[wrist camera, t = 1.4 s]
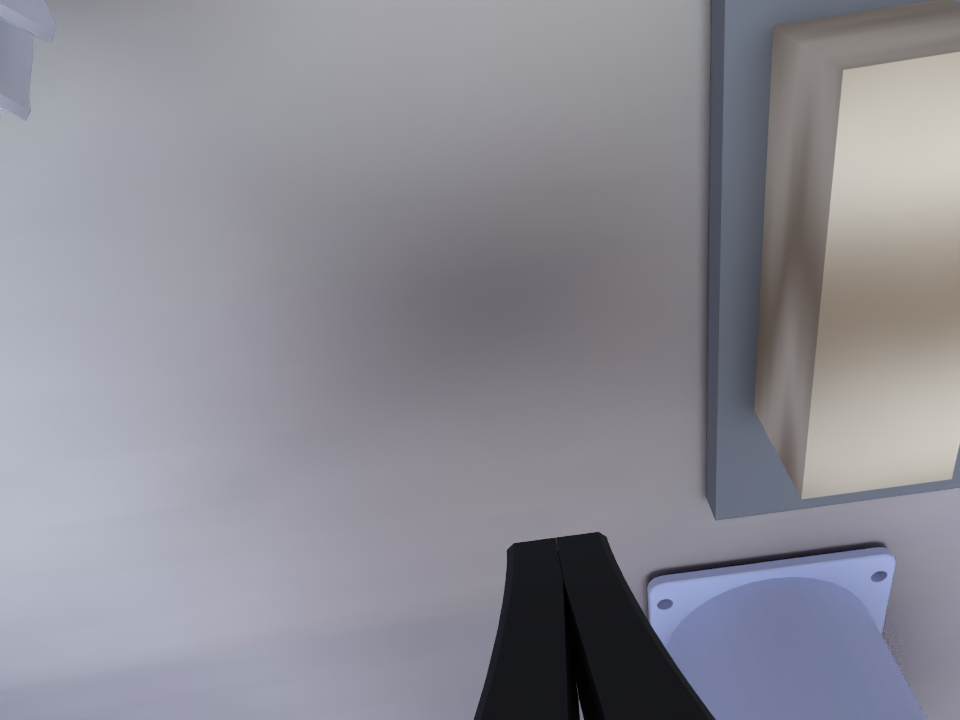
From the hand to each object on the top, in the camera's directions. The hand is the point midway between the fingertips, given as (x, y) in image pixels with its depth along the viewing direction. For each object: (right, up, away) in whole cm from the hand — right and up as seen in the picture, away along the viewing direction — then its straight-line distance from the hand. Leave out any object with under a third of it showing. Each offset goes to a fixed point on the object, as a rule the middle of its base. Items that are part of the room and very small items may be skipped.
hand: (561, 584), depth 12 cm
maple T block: (+10, +7, +7) cm, 14 cm away
